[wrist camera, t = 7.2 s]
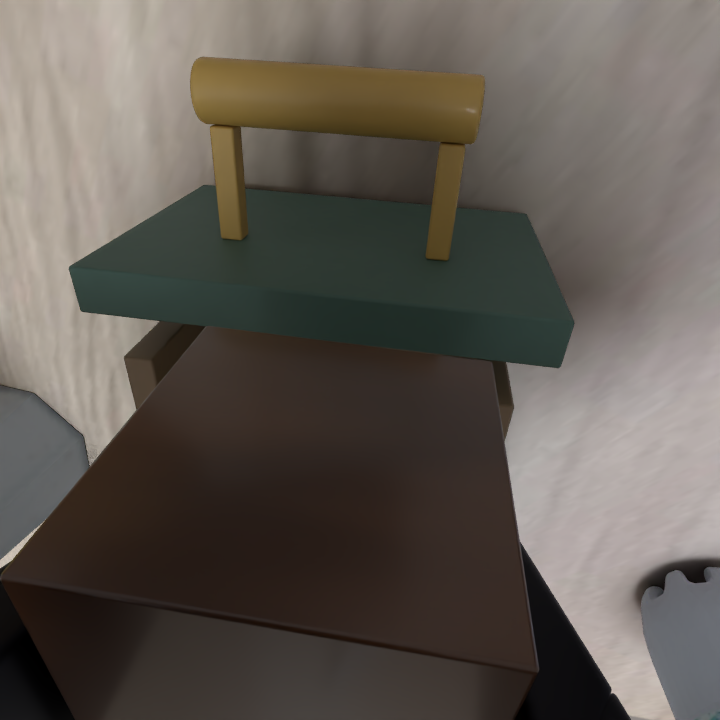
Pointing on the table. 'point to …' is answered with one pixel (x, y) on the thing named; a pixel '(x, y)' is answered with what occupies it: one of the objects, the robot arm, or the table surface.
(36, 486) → the coffee maker
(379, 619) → the block
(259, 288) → the drawer
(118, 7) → the table surface
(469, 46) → the table surface
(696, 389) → the table surface
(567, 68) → the table surface
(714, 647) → the bottle
